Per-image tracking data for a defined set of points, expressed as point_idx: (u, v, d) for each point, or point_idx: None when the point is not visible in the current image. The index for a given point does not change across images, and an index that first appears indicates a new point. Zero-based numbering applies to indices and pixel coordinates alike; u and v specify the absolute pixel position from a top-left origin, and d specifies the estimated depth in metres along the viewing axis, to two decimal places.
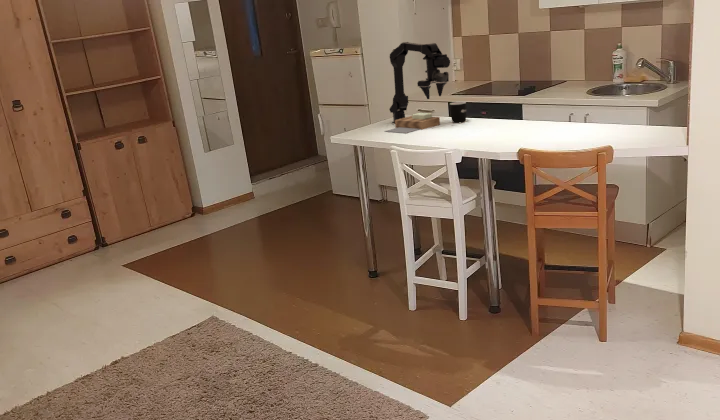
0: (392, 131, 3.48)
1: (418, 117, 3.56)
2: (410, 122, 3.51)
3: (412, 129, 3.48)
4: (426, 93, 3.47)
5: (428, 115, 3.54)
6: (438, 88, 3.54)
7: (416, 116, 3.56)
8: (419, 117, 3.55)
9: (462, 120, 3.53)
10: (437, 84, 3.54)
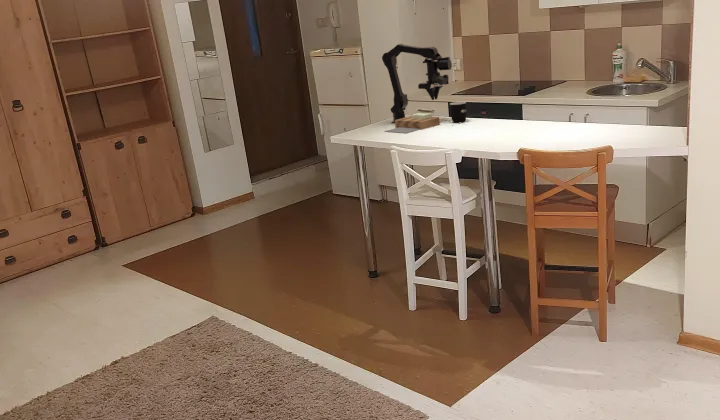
0: (392, 131, 3.48)
1: (418, 117, 3.56)
2: (410, 122, 3.51)
3: (412, 129, 3.48)
4: (431, 94, 3.60)
5: (428, 115, 3.54)
6: (434, 91, 3.63)
7: (416, 116, 3.56)
8: (419, 117, 3.55)
9: (462, 120, 3.53)
10: (433, 87, 3.63)
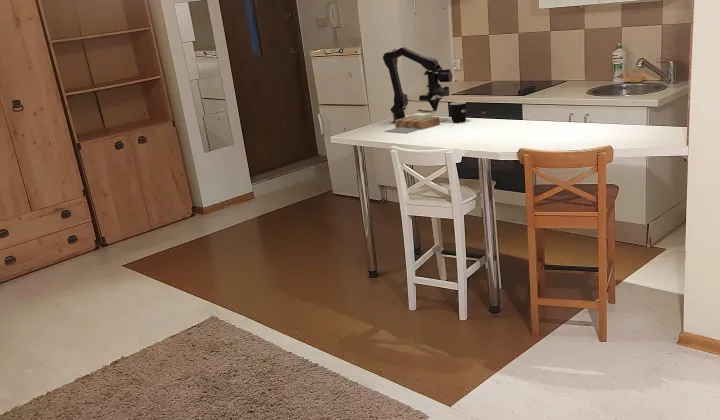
0: (392, 131, 3.48)
1: (418, 117, 3.56)
2: (410, 122, 3.51)
3: (412, 129, 3.48)
4: (433, 105, 3.62)
5: (428, 115, 3.54)
6: None
7: (416, 116, 3.56)
8: (419, 117, 3.55)
9: (462, 120, 3.53)
10: None
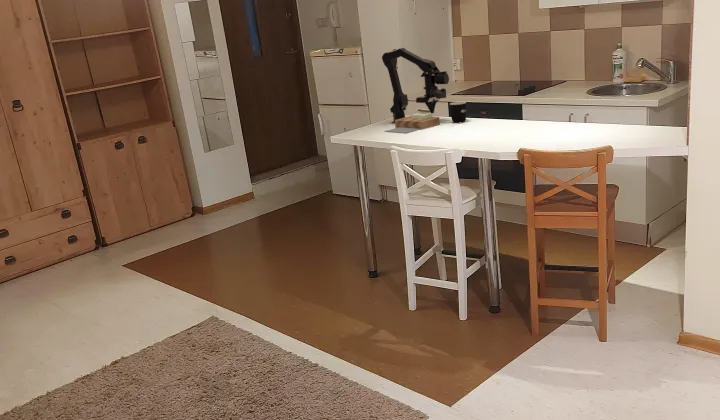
0: (392, 131, 3.48)
1: (418, 117, 3.56)
2: (410, 122, 3.51)
3: (412, 129, 3.48)
4: (430, 108, 3.61)
5: (428, 115, 3.54)
6: None
7: (416, 116, 3.56)
8: (419, 117, 3.55)
9: (462, 120, 3.53)
10: None
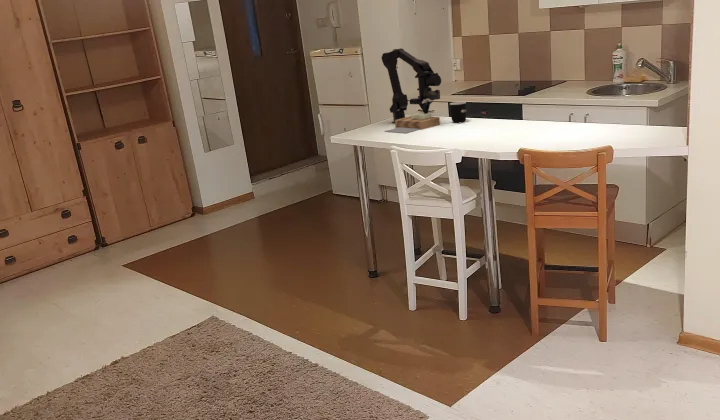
0: (392, 131, 3.48)
1: (418, 117, 3.55)
2: (410, 122, 3.51)
3: (412, 129, 3.48)
4: (424, 109, 3.58)
5: (428, 115, 3.54)
6: None
7: (416, 116, 3.56)
8: (419, 117, 3.55)
9: (462, 120, 3.53)
10: None
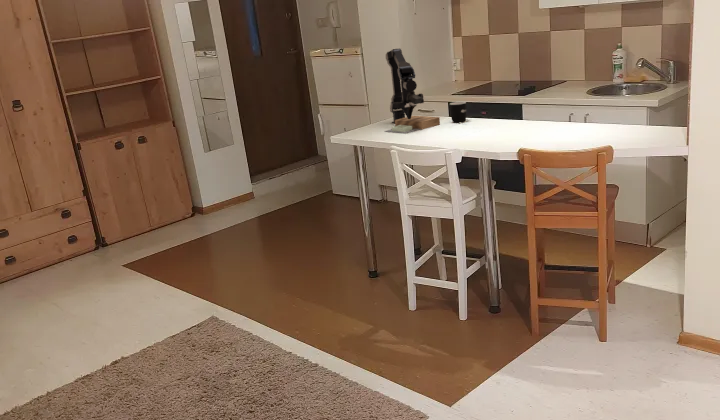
0: (392, 131, 3.48)
1: None
2: (410, 122, 3.51)
3: (412, 129, 3.48)
4: (407, 113, 3.50)
5: (407, 129, 3.45)
6: None
7: None
8: None
9: (462, 120, 3.53)
10: None
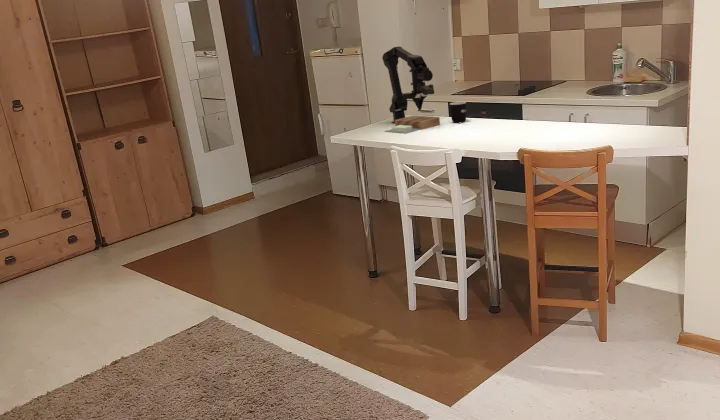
0: (392, 131, 3.48)
1: None
2: (410, 122, 3.51)
3: (412, 129, 3.48)
4: (417, 104, 3.54)
5: (407, 129, 3.45)
6: None
7: None
8: None
9: (462, 120, 3.53)
10: None
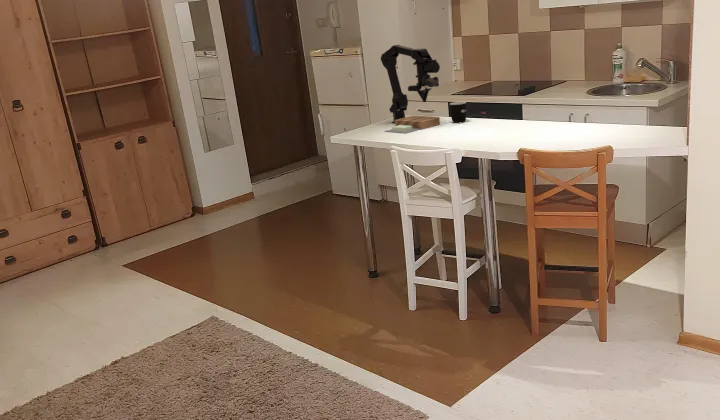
0: (392, 131, 3.48)
1: None
2: (410, 122, 3.51)
3: (412, 129, 3.48)
4: (422, 96, 3.56)
5: (407, 129, 3.45)
6: None
7: None
8: None
9: (462, 120, 3.53)
10: None
